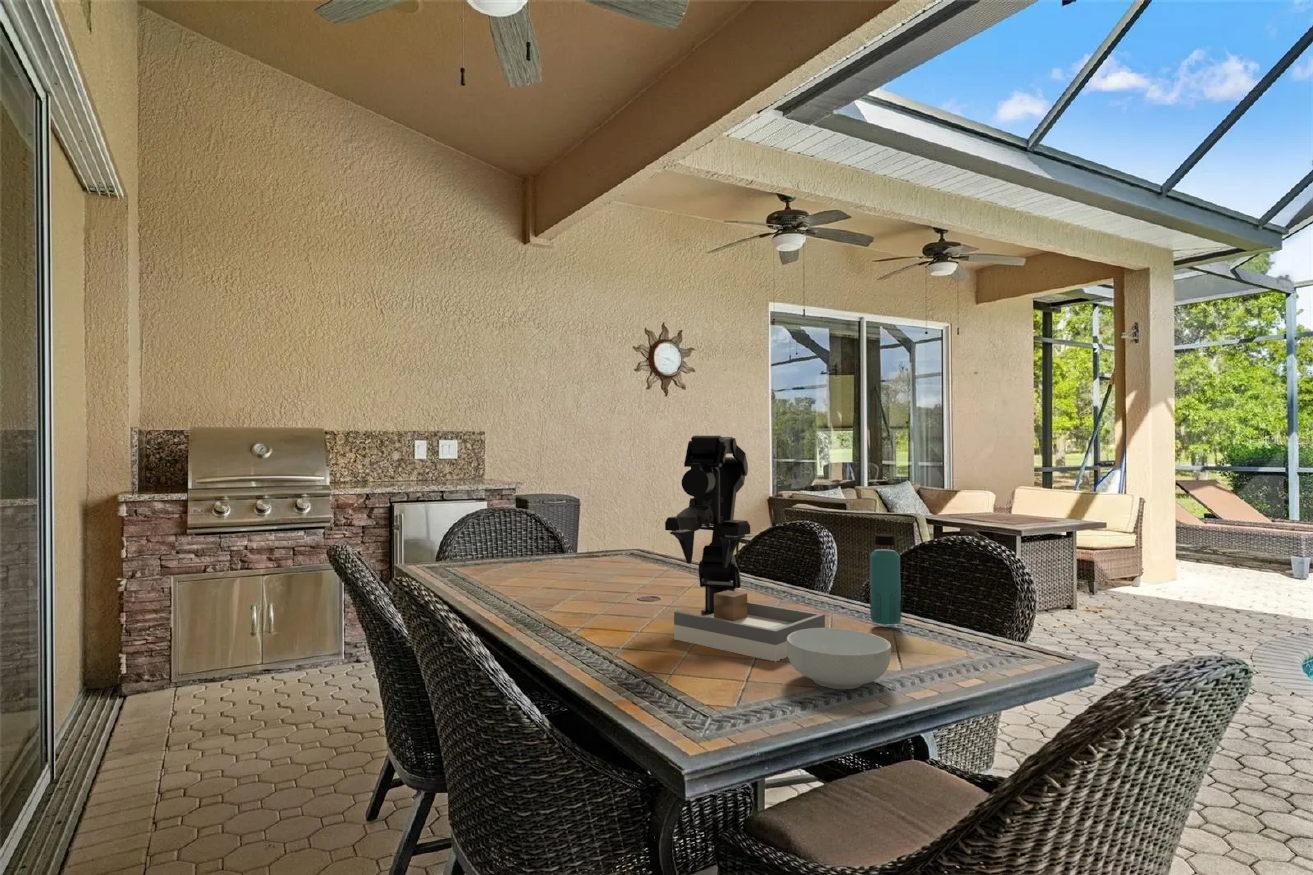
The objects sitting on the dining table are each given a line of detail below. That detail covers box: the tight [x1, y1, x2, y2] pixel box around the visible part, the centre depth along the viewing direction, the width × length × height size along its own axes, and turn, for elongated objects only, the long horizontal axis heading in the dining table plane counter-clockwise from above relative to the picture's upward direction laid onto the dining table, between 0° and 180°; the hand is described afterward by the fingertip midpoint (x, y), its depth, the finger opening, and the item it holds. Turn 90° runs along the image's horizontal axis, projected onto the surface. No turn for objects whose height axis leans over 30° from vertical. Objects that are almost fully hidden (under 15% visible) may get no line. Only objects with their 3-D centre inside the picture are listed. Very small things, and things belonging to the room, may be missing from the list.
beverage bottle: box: [869, 533, 903, 625], centre depth 164 cm, size 6×7×20 cm
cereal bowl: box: [786, 627, 892, 690], centre depth 127 cm, size 17×17×7 cm
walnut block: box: [714, 590, 748, 621], centre depth 161 cm, size 5×5×5 cm
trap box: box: [673, 601, 826, 662], centre depth 153 cm, size 24×18×6 cm
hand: (706, 565), depth 165 cm, fingers open, 9 cm apart
